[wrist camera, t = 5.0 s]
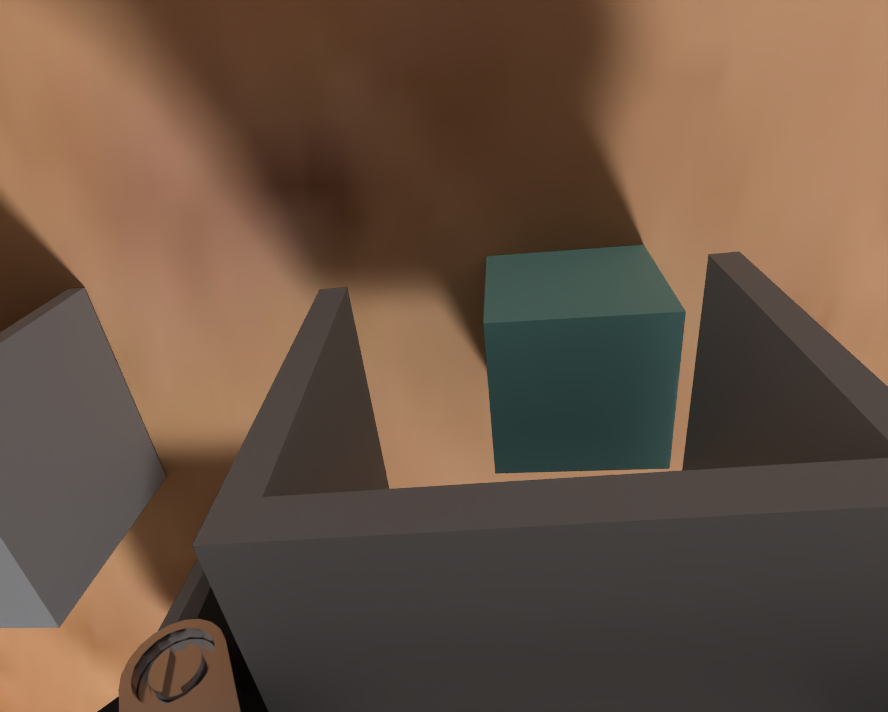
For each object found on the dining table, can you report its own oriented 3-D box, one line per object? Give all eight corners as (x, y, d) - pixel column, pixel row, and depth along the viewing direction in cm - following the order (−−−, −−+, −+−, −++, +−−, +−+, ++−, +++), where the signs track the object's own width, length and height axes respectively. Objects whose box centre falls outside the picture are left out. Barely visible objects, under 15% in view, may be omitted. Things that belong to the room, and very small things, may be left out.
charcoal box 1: (319, 289, 11) (191, 545, 6) (739, 252, 10) (1011, 499, 5) (382, 559, 14) (338, 864, 9) (695, 543, 14) (831, 859, 9)
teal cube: (486, 255, 16) (483, 323, 12) (642, 244, 15) (685, 311, 12) (496, 383, 18) (495, 473, 14) (635, 376, 17) (669, 468, 14)
